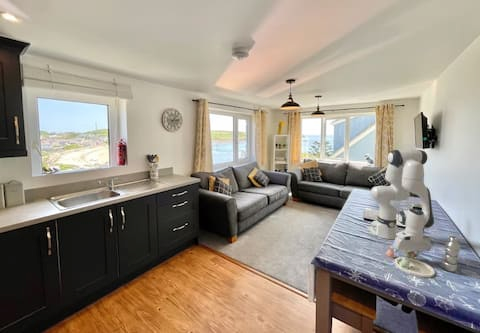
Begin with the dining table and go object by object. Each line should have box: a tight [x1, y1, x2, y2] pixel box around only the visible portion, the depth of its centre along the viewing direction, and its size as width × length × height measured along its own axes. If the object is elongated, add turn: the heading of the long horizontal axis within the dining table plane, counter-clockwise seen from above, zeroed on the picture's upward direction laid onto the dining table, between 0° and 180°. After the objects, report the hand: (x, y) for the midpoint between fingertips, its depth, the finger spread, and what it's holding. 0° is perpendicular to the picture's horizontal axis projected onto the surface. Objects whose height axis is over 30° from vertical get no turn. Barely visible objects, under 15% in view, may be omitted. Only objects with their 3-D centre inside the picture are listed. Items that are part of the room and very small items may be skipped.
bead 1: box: [386, 248, 395, 259], centre depth 140 cm, size 4×4×5 cm
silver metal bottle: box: [441, 235, 461, 273], centre depth 127 cm, size 6×7×20 cm
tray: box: [394, 256, 436, 279], centre depth 129 cm, size 18×18×2 cm
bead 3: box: [407, 251, 416, 259], centre depth 139 cm, size 4×4×5 cm
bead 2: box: [401, 258, 410, 269], centre depth 129 cm, size 4×4×5 cm
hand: (411, 256), depth 138 cm, fingers open, 4 cm apart
